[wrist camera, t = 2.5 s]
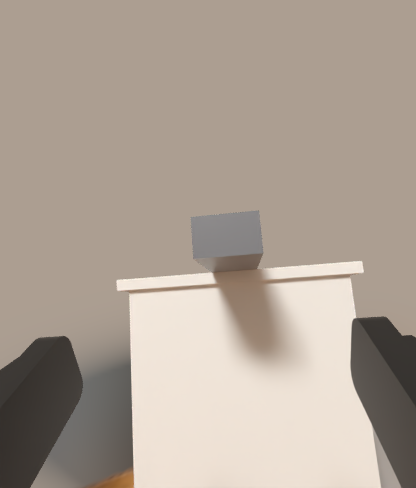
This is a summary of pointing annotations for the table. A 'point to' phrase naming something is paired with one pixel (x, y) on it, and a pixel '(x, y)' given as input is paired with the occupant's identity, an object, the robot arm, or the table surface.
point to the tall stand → (247, 380)
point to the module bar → (227, 241)
